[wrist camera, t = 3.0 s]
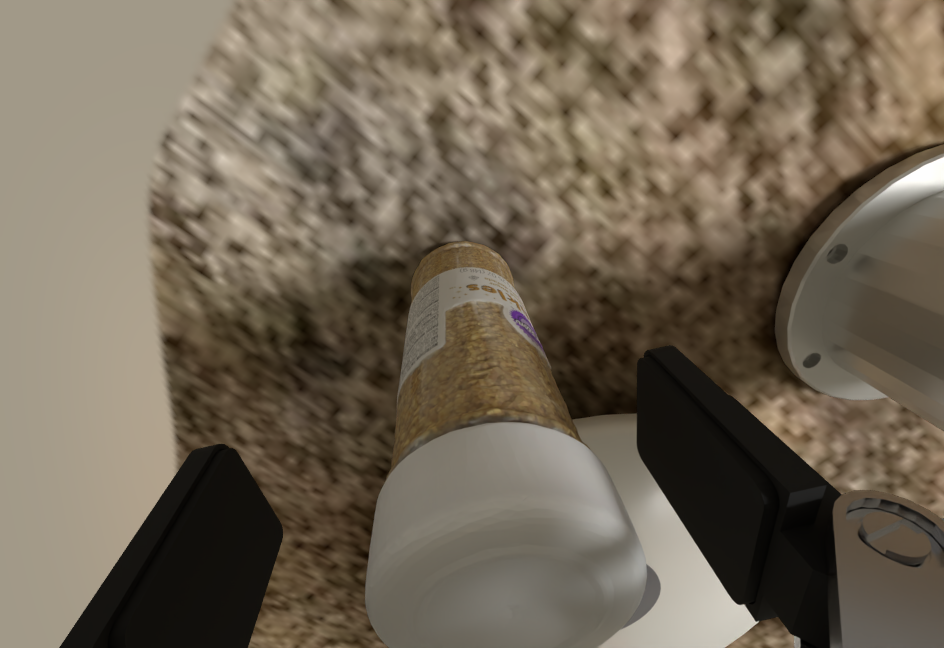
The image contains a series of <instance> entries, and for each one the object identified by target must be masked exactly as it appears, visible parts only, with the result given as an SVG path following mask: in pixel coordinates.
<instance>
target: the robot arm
mask: <svg viewBox="0 0 944 648" xmlns="http://www.w3.org/2000/svg"><path fill="white" fill-rule="evenodd" d="M775 335H776V342H777V348H778V350H779V353H780V355H781V357H782V359H783V361H784V363H785V365H786V366H787V367H788V368H789V369H790V370H791V371H792V372H793V374H794V375H795V376H796V377H798V378H799V379H801V380H802V381H804V382H805V383H806V384H808V385H809V386H810V387H812V388H813V389H815V390H817V391H819V392H821V393H823V394H826V395H828V396H830V397H835V398H841V399H846V400H873V399H880V398H887V397H889V398H891V399H893V400H894V401H896V402H897V403H899V404H901V405H902V406H904V407H905V408H907V409H909V410H910V411H912V412H913V413H915V414H917V415H918V416H920V417H922V418H923V419H925V420H926V421H928V422H930V423H931V424H933V425H934V426H936V427H938V428H939V429H941V430H942V431H944V144H943V145H940V146H937V147H934V148H931V149H928V150H925V151H922V152H919V153H916V154H914V155H912V156H911V157H909V158H907V159H905V160H903V161H901V162H899V163H897V164H895V165H893V166H891V167H889V168H887V169H886V170H884V171H883V172H881V173H880V174H878V175H877V176H875V177H874V178H873V179H871V180H870V181H868V182H867V183H865V184H864V185H863V186H861V187H860V188H858V189H857V190H856V191H855V192H854V193H853V194H851V195H850V196H849V197H848V198H847V199H846V200H845V201H844V202H843V203H841V204H840V205H839V206H838V207H837V208H836V209H835V210H834V211H833V212H832V213H831V214H830V215H829V216H828V217H827V218H826V220H825V221H824V222H823V223H822V224H821V225H820V226H819V228H818V229H817V230H816V231H815V232H814V233H813V235H812V236H811V237H810V238H809V240H808V242H807V243H806V245H805V246H804V248H803V249H802V251H801V252H800V254H799V255H798V257H797V258H796V260H795V261H794V263H793V265H792V268H791V270H790V272H789V274H788V276H787V278H786V280H785V282H784V284H783V287H782V291H781V294H780V298H779V301H778V305H777V308H776V319H775ZM637 449H638V453H639V455H640V458H641V459H642V461H643V463H644V464H645V466H646V467H647V469H648V470H649V472H650V474H651V475H652V477H653V478H654V480H655V481H656V483H657V484H658V486H659V488H660V489H661V491H662V492H663V494H664V495H665V497H666V498H667V500H668V501H669V503H670V505H671V506H672V508H673V509H674V511H675V512H676V514H677V515H678V517H679V519H680V520H681V522H682V523H683V525H684V526H685V528H686V529H687V531H688V533H689V534H690V536H691V537H692V539H693V540H694V542H695V543H696V545H697V546H698V548H699V550H700V551H701V553H702V554H703V556H704V557H705V559H706V560H707V562H708V564H709V565H710V567H711V568H712V570H713V571H714V573H715V574H716V576H717V577H718V579H719V581H720V582H721V584H722V585H723V587H724V588H725V590H726V591H727V593H728V595H729V596H730V597H731V599H732V600H733V601H734V602H735V603H736V604H738V605H743V604H744V605H745V606H746V608H747V609H748V611H749V612H750V614H751V615H752V617H753V618H754V620H755V621H756V622H758V621H762V620H766V619H771V618H775V617H779V618H780V620H781V621H782V622H783V624H784V625H785V627H786V628H787V629H788V631H789V632H790V634H792V635H794V648H944V520H942V519H941V518H940V517H938V516H937V515H935V514H934V513H933V512H931V511H930V510H928V509H926V508H924V507H922V506H920V505H918V504H916V503H914V502H912V501H910V500H907V499H904V498H901V497H899V496H896V495H893V494H890V493H885V492H879V491H873V490H854V491H851V492H848V493H845V494H842V495H841V494H840V493H839V492H838V491H837V490H836V489H835V488H834V487H833V486H831V485H830V484H829V483H828V482H827V481H826V480H825V479H824V478H823V477H821V476H820V475H819V474H818V473H817V472H816V471H815V470H814V469H813V468H811V467H810V466H809V465H808V464H807V463H806V462H805V461H804V460H803V459H801V458H800V457H799V456H798V455H797V454H796V453H795V452H794V451H793V450H791V449H790V448H789V447H788V446H787V445H786V444H785V443H784V442H783V441H781V440H780V439H779V438H778V437H777V436H776V435H775V434H774V433H773V432H771V431H770V430H769V429H768V428H767V427H766V426H765V425H764V424H763V423H761V422H760V421H759V420H758V419H757V418H756V417H755V416H754V415H753V414H751V413H750V412H749V411H748V410H747V409H746V408H745V407H744V406H743V405H741V404H740V403H739V402H738V401H737V400H736V399H734V398H733V397H731V396H730V395H727V394H726V393H725V392H724V391H723V390H722V389H721V388H720V387H719V386H717V385H716V384H715V383H714V382H713V381H712V380H711V379H710V378H709V377H708V376H706V375H705V374H704V373H703V372H702V371H701V370H700V369H699V368H698V367H697V366H695V365H694V364H693V363H692V362H691V361H690V360H689V359H688V358H687V357H686V356H684V355H683V354H682V353H681V352H680V351H679V350H678V349H677V348H675V347H674V346H671V345H669V346H665V347H660V348H656V349H651V350H647V351H646V352H645V353H644V358H640V359H639V360H638V363H637ZM282 538H283V529H282V525H281V523H280V521H279V519H278V518H277V516H276V514H275V513H274V511H273V510H272V508H271V506H270V505H269V503H268V501H267V500H266V498H265V496H264V495H263V493H262V492H261V490H260V488H259V487H258V485H257V483H256V482H255V480H254V479H253V477H252V475H251V474H250V472H249V470H248V469H247V467H246V465H245V464H244V462H243V461H242V459H241V457H240V456H239V454H238V452H237V451H236V450H235V449H233V448H229V447H228V446H226V445H225V444H217V445H213V446H208V447H204V448H199V449H196V450H194V451H192V452H191V453H190V454H189V456H188V457H187V459H186V460H185V462H184V463H183V465H182V466H181V468H180V469H179V471H178V472H177V474H176V475H175V477H174V478H173V480H172V481H171V483H170V484H169V486H168V487H167V489H166V490H165V491H164V493H163V494H162V496H161V497H160V499H159V500H158V502H157V503H156V505H155V507H154V508H153V509H152V511H151V512H150V514H149V515H148V517H147V518H146V520H145V521H144V523H143V524H142V526H141V527H140V529H139V530H138V532H137V533H136V535H135V536H134V538H133V539H132V540H131V542H130V543H129V545H128V546H127V548H126V550H125V551H124V552H123V554H122V556H121V557H120V558H119V560H118V562H117V563H116V564H115V566H114V567H113V569H112V570H111V572H110V573H109V575H108V576H107V578H106V579H105V581H104V582H103V584H102V585H101V587H100V588H99V590H98V591H97V593H96V594H95V596H94V597H93V598H92V600H91V601H90V603H89V604H88V606H87V608H86V609H85V610H84V612H83V614H82V615H81V616H80V618H79V620H78V621H77V622H76V624H75V625H74V627H73V628H72V630H71V631H70V633H69V634H68V636H67V637H66V639H65V640H64V642H63V643H62V645H61V646H60V647H59V648H248V645H249V642H250V639H251V636H252V633H253V630H254V627H255V623H256V620H257V617H258V614H259V611H260V608H261V605H262V602H263V598H264V595H265V592H266V589H267V586H268V583H269V580H270V577H271V573H272V570H273V567H274V564H275V561H276V558H277V555H278V552H279V548H280V545H281V542H282Z"/></svg>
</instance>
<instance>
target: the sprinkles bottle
mask: <svg viewBox="0 0 944 648" xmlns="http://www.w3.org/2000/svg"><path fill="white" fill-rule="evenodd" d="M411 297H412V304H411V307H410V311H409V315H408V322H407V329H406V337H405V344H404V352H403V360H402V368H401V375H400V382H399V389H398V396H397V422H396V428H395V442H394V448H393V456H392V463H391V470H390V472H389V473H388V475H387V477H386V481H385V483H384V485H383V487H382V489H381V491H380V494H379V496H378V499H377V504H376V510H375V516H374V523H373V530H372V537H371V544H370V551H369V559H368V568H367V576H366V584H365V605H366V610H367V615H368V618H369V620H370V623H371V625H372V627H373V629H374V630H375V632H376V634H377V635H378V637H379V638H380V639H381V640H382V641H383V642H384V643H385V644H386V645H387V646H388V647H389V648H597V647H599V646H600V645H602V644H603V643H605V642H606V641H607V640H609V639H610V638H611V637H612V636H613V635H615V634H616V633H617V632H618V631H619V630H620V629H622V627H623V626H624V625H625V624H626V623H627V622H628V621H629V620H630V618H631V617H632V615H633V614H634V612H635V611H636V609H637V607H638V606H639V604H640V602H641V599H642V597H643V594H644V591H645V586H646V580H647V567H646V558H645V554H644V551H643V548H642V545H641V543H640V540H639V538H638V536H637V533H636V531H635V528H634V526H633V524H632V521H631V519H630V517H629V515H628V512H627V510H626V508H625V506H624V504H623V501H622V499H621V497H620V495H619V493H618V491H617V489H616V487H615V485H614V483H613V481H612V479H611V477H610V475H609V473H608V471H607V469H606V467H605V466H604V464H603V463H602V462H601V460H600V459H599V458H598V457H597V456H596V455H595V454H594V453H593V452H592V451H591V450H590V448H589V447H588V446H587V445H586V444H585V443H583V442H582V440H581V438H580V436H579V434H578V431H577V428H576V426H575V425H574V423H573V421H572V419H571V416H570V414H569V411H568V408H567V405H566V403H565V401H564V400H563V397H562V395H561V393H560V391H559V389H558V387H557V384H556V382H555V380H554V378H553V376H552V373H551V366H550V364H549V361H548V359H547V357H546V354H545V352H544V350H543V348H542V345H541V343H540V341H539V339H538V337H537V334H536V332H535V330H534V328H533V325H532V323H531V321H530V318H529V316H528V313H527V311H526V309H525V306H524V304H523V301H522V299H521V298H520V296H519V294H518V293H517V291H516V290H515V287H514V280H513V277H512V274H511V272H510V269H509V267H508V265H507V263H506V262H505V261H504V260H503V259H502V258H501V256H500V255H499V254H498V253H496V252H495V251H493V250H492V249H490V248H488V247H487V246H484V245H481V244H477V243H473V242H467V241H461V242H452V243H448V244H446V245H444V246H441V247H438V248H437V249H435V250H434V251H432V252H430V253H429V254H428V255H427V256H425V257H424V258H423V259H422V260H421V262H420V264H419V266H418V267H417V269H416V270H415V273H414V275H413V278H412V282H411Z"/></svg>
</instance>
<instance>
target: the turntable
mask: <svg viewBox="0 0 944 648" xmlns="http://www.w3.org/2000/svg"><path fill="white" fill-rule="evenodd" d="M572 421H573V423H574V425H575V426H576V428H577V431H578V434H579V436H580V438H581V440H582V442H583V443H585V444H586V445H587V446H588V447H589V448H590V450H591V451H592V452H593V453H594V454H595V455H596V456H597V457H598V458H599V459H600V460H601V462H602V463H603V464H604V466H605V467H606V469H607V471H608V473H609V475H610V477H611V479H612V481H613V483H614V485H615V487H616V489H617V491H618V493H619V495H620V497H621V499H622V501H623V504H624V506H625V508H626V510H627V512H628V515H629V517H630V519H631V521H632V524H633V526H634V528H635V531H636V533H637V536H638V538H639V540H640V543H641V545H642V548H643V551H644V554H645V558H646V567H647V580H646V586H645V591H644V594H643V597H642V599H641V602H640V604H639V606H638V607H637V609H636V611H635V612H634V614H633V615H632V617H631V618H630V620H629V621H628V622H627V623H626V624H625V625H624V626H623V627H622V629H620V630H619V631H618V632H617V633H616V634H615V635H613V636H612V637H611V638H610V639H609V640H607V641H606V642H605V643H603V644H602V645H600V646H599V647H597V648H725V647H726V646H728V645H729V644H731V643H732V642H733V641H735V640H736V639H738V638H739V637H741V636H742V635H743V634H745V633H746V632H747V631H748V630H750V629H751V628H752V627H753V626H754V625H756V624H757V623H758V622H759V621H758V622H756V621H755V620H754V618H753V617H752V615H751V614H750V612H749V611H748V609H747V608H746V606H745V605H744V604H743V605H738V604H736V603H735V602H734V601H733V600H732V599H731V597H730V596H729V595H728V593H727V591H726V590H725V588H724V587H723V585H722V584H721V582H720V581H719V579H718V577H717V576H716V574H715V573H714V571H713V570H712V568H711V567H710V565H709V564H708V562H707V560H706V559H705V557H704V556H703V554H702V553H701V551H700V550H699V548H698V546H697V545H696V543H695V542H694V540H693V539H692V537H691V536H690V534H689V533H688V531H687V529H686V528H685V526H684V525H683V523H682V522H681V520H680V519H679V517H678V515H677V514H676V512H675V511H674V509H673V508H672V506H671V505H670V503H669V501H668V500H667V498H666V497H665V495H664V494H663V492H662V491H661V489H660V488H659V486H658V484H657V483H656V481H655V480H654V478H653V477H652V475H651V474H650V472H649V470H648V469H647V467H646V466H645V464H644V463H643V461H642V459H641V458H640V455H639V453H638V449H637V413H636V414H612V415H600V416H593V417H586V418H579V419H572Z"/></svg>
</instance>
